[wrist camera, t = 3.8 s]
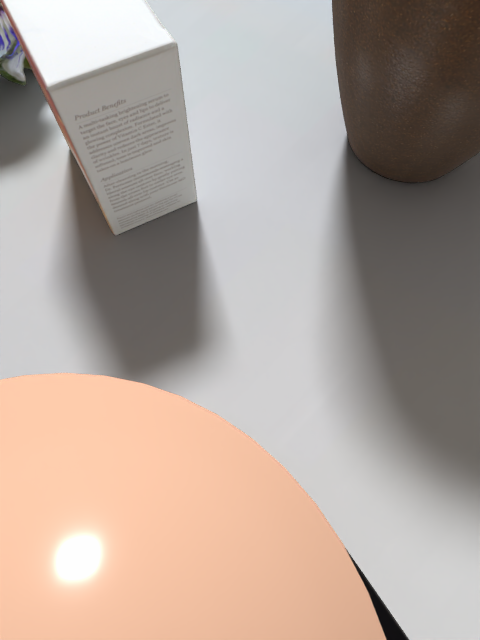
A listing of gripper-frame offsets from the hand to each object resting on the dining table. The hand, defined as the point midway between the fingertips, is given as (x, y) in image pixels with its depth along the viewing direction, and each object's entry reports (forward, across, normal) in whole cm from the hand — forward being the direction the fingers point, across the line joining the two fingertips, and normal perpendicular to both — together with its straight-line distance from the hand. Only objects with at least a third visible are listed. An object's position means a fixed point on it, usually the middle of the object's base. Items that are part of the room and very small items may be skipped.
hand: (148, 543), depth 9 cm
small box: (+23, +6, -5) cm, 25 cm away
